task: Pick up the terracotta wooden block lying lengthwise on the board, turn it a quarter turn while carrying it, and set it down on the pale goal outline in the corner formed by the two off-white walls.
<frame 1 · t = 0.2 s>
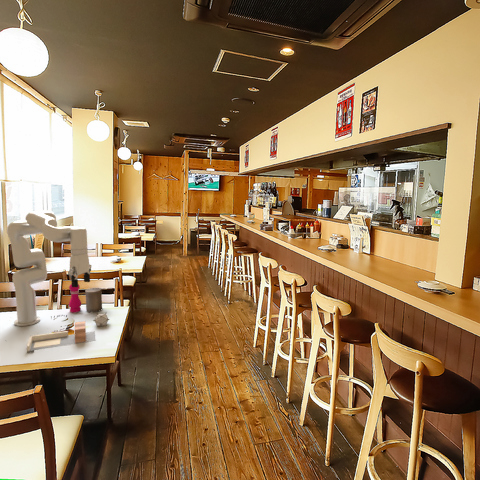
hand: (81, 284, 167), 30 cm above the table, tool pointing down, fingers open, 9 cm apart
pepper mill: (75, 311, 210), on the table
grey spiky ball: (101, 326, 188), on the table
pillar candle: (94, 310, 213), on the table
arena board: (63, 342, 167), on the table
block: (80, 338, 170), point 1 cm above the table, touching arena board
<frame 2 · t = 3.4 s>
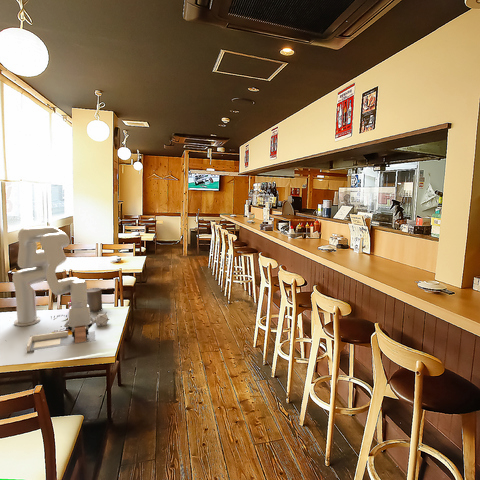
hand: (80, 336, 170), 2 cm above the table, tool pointing down, fingers closed on block, 5 cm apart
block: (80, 338, 170), point 1 cm above the table, touching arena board, gripper
everything else where it was.
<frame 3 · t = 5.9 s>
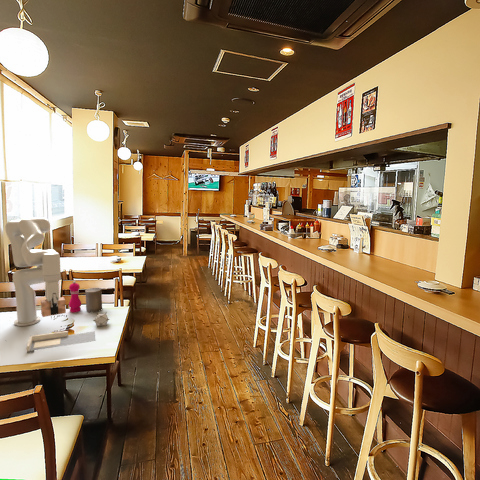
hand: (53, 311, 163), 17 cm above the table, tool pointing down, fingers closed on block, 5 cm apart
block: (53, 313, 163), point 16 cm above the table, touching gripper
everything else where it was.
when the fingers open (4 cm above the table, at t = 8.5 s): block drops 2 cm, resting on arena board.
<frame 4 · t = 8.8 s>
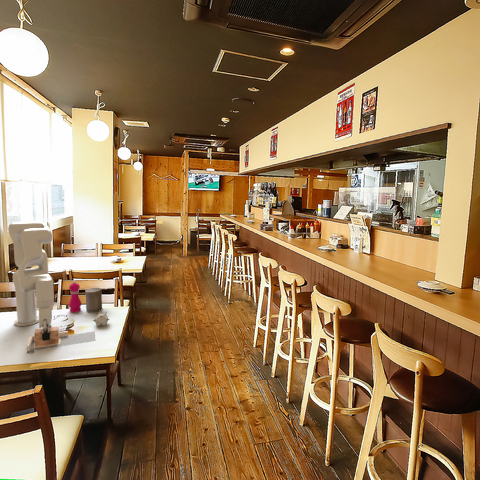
hand: (47, 336, 163), 5 cm above the table, tool pointing down, fingers open, 8 cm apart
block: (47, 342, 164), point 1 cm above the table, touching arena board
everything else where it was.
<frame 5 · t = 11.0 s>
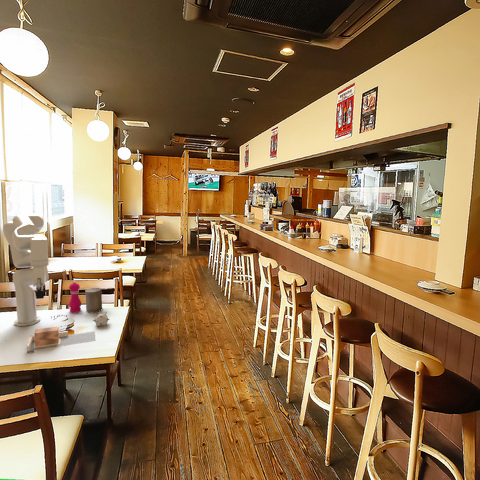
hand: (40, 295, 164), 25 cm above the table, tool pointing down, fingers open, 9 cm apart
nothing on the table moved.
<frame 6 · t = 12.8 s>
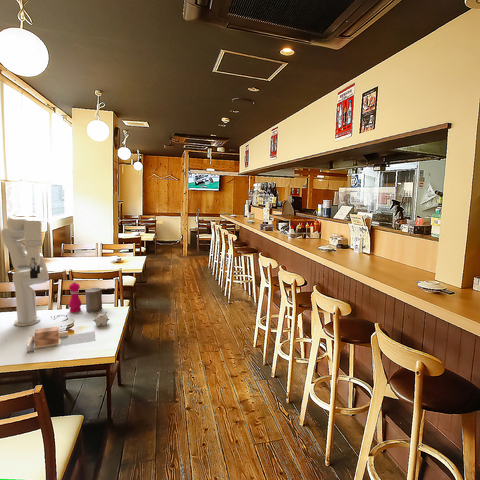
hand: (35, 275, 167), 33 cm above the table, tool pointing down, fingers open, 9 cm apart
nothing on the table moved.
at the end: block 0.4 cm from the target spot, point 1.1 cm above the table; block tilted 0°; the gripper is holding nothing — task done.
